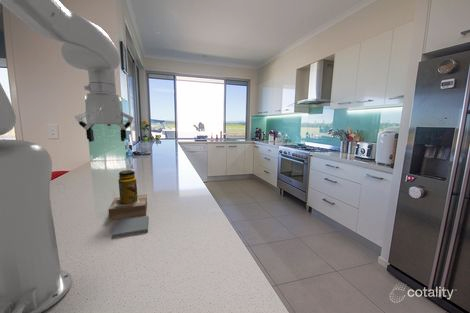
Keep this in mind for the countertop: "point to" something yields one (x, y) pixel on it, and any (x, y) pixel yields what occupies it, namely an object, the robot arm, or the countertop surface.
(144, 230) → the coaster
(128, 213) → the block
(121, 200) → the condiment
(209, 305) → the countertop surface
